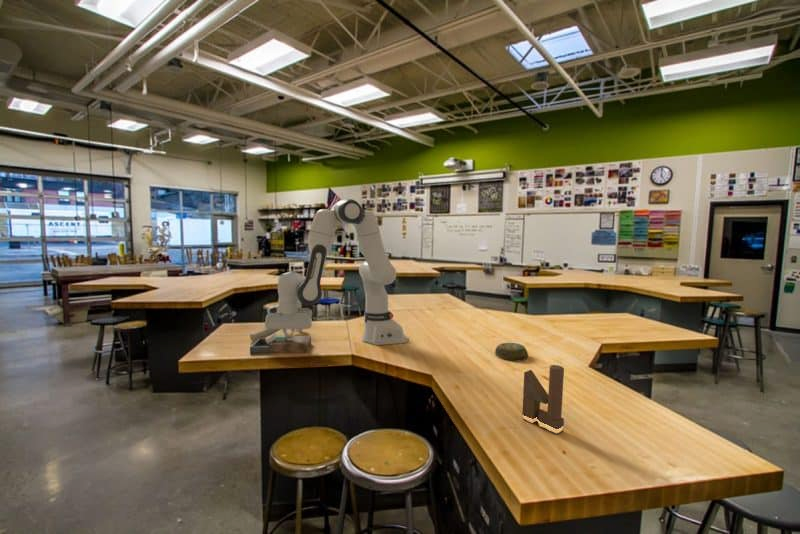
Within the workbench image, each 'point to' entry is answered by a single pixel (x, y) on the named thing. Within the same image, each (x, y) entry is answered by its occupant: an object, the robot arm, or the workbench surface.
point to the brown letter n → (544, 397)
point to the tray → (260, 347)
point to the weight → (511, 351)
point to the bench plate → (290, 345)
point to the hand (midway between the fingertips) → (289, 338)
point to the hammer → (267, 332)
